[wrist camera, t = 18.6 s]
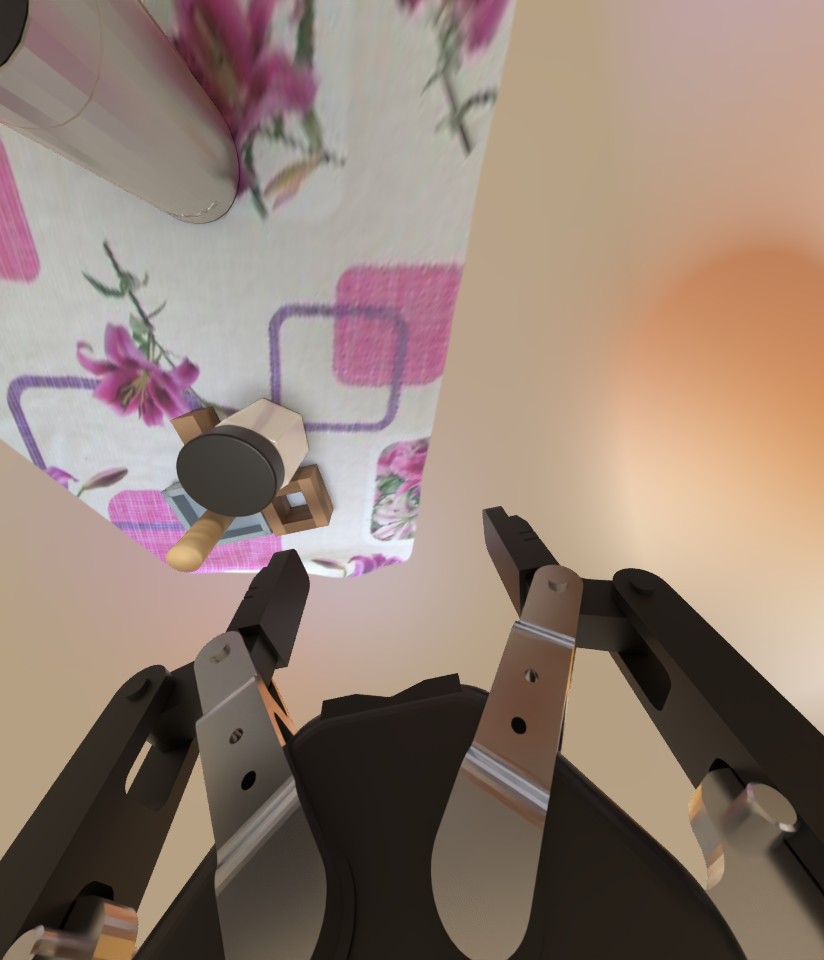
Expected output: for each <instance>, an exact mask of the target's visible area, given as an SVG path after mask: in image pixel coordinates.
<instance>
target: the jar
mask: <svg viewBox="0 0 824 960" xmlns="http://www.w3.org/2000/svg"><path fill="white" fill-rule="evenodd" d="M308 451H309V448H308V444H307V439H306V435H305V430H304V425H303V421H302V416H301V415H300V414H297V413H295V412H293V411H291V410H288V409H286V408H284V407H282V406H279V405H277V404H275V403H273V402H270V401H268V400H266V399H263V398H262V399H260V400H258V401H256V402H255V403H253V404H251V405H249V406H247V407H246V408H244V409H242V410H240V411H239V412H237V413H235V414H233V415H232V416H230V417H228V418H226V419H224V420H223V421H222V422H220V423H219V424H218V425H216V426H215V427H214V428H211V429H209V430H207V431H206V432H204V433H202V434H200V435H199V436H197V437H195V438H193V439H192V440H190V441H189V442H187V443H186V444H185V445H184V447H183V448H182V449H181V451H180V452H179V455H178V458H177V463H176V469H177V475H178V478H179V481H180V483H181V485H182V487H183V489H184V490H185V492H186V493H187V494H188V495H189V496H190V497H191V498H192V499H193V500H194V501H195V502H196V503H198V504H199V505H200V506H202V507H204V508H205V509H207V510H209V511H211V512H214V513H217V514H220V515H224V516H229V517H246V516H250V515H254V514H257V513H259V512H261V511H262V510H264V509H265V508H266V507H268V506H269V505H270V503H271V502H272V501H273V499H274V498H275V496H276V495H277V493H278V492H279V490H280V489H282V488H283V487H285V486H286V485H288V483H289V482H290V480H291V479H292V477H293V475H294V474H295V472H296V470H297V469H298V467H299V466H300V464H301V462H302V461H303V459H304V457H305V456H306V454H307V453H308Z"/></svg>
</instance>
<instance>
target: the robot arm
mask: <svg viewBox="0 0 824 960" xmlns="http://www.w3.org/2000/svg"><path fill="white" fill-rule="evenodd" d="M0 123H2V124H4V125H6V126H8V127H9V128H11V129H13V130H15V131H17V132H19V133H21V134H22V135H24V136H26V137H28V138H30V139H32V140H33V141H35V142H37V143H39V144H41V145H43V146H44V147H46V148H48V149H50V150H52V151H54V152H55V153H57V154H59V155H61V156H63V157H65V158H66V159H68V160H70V161H72V162H74V163H76V164H77V165H79V166H81V167H83V168H85V169H87V170H89V171H90V172H92V173H94V174H96V175H98V176H100V177H101V178H103V179H105V180H107V181H109V182H111V183H112V184H114V185H116V186H118V187H120V188H122V189H123V190H125V191H127V192H129V193H131V194H133V195H134V196H136V197H138V198H140V199H142V200H144V201H145V202H147V203H149V204H151V205H153V206H155V207H156V208H158V209H160V210H162V211H164V212H166V213H168V214H169V215H171V216H173V217H176V218H178V219H180V220H183V221H186V222H192V223H208V222H210V221H213V220H216V219H218V218H219V217H220V216H222V215H223V214H224V213H226V211H227V210H228V209H229V207H230V206H231V205H232V203H233V200H234V198H235V195H236V193H237V188H238V182H239V163H238V157H237V152H236V147H235V144H234V141H233V138H232V135H231V133H230V130H229V128H228V126H227V124H226V122H225V120H224V118H223V116H222V115H221V113H220V112H219V111H218V109H217V108H216V106H215V105H214V103H213V102H212V101H211V99H210V98H209V97H208V95H207V94H206V92H205V91H204V90H203V88H202V87H201V86H200V84H199V83H198V82H197V80H196V79H195V78H194V76H193V75H192V74H191V72H190V70H189V67H188V65H187V63H186V62H185V60H184V59H183V58H182V56H181V55H180V54H179V52H178V51H177V49H176V48H175V47H174V45H173V44H172V43H171V41H170V40H169V39H168V37H167V36H166V35H165V33H164V32H163V30H162V29H161V28H160V26H159V25H158V24H157V22H156V21H155V20H154V18H153V17H152V15H151V14H150V13H149V11H148V10H147V9H146V7H145V6H144V5H143V3H142V2H141V1H140V0H0ZM483 524H484V535H485V542H486V546H487V550H488V552H489V554H490V557H491V559H492V561H493V563H494V565H495V567H496V569H497V571H498V573H499V576H500V578H501V580H502V582H503V584H504V586H505V588H506V590H507V592H508V594H509V596H510V599H511V601H512V603H513V605H514V607H515V609H516V611H517V613H518V616H519V618H520V620H519V622H517V621H516V622H515V623H514V624H513V626H512V629H511V632H510V635H509V638H508V641H507V644H506V646H505V649H504V652H503V656H502V658H501V661H500V664H499V667H498V670H497V673H496V676H495V679H494V682H493V685H492V687H491V690H490V693H489V692H487V691H486V690H483V689H480V688H478V687H474V686H470V685H464V684H460V680H459V676H458V673H456V674H451V675H446V676H441V677H437V678H432V679H427V680H424V681H422V682H420V683H418V684H416V685H414V686H412V687H410V688H408V689H406V690H404V691H402V692H400V693H398V694H396V695H394V696H392V697H382V696H371V695H360V694H354V695H349V696H344V697H340V698H335V699H330V700H324V701H323V704H322V711H321V714H320V715H318V716H317V717H315V718H314V719H312V720H311V721H309V722H308V723H307V724H305V726H303V727H302V728H301V729H300V730H299V731H298V730H297V728H296V727H295V725H294V723H293V721H292V719H291V717H290V715H289V712H288V710H287V708H286V706H285V703H284V701H283V699H282V697H281V695H280V693H279V690H278V688H277V686H276V684H275V682H274V680H273V679H272V676H273V673H274V670H275V669H279V668H284V667H287V666H288V663H289V660H290V656H291V653H292V649H293V646H294V642H295V639H296V635H297V632H298V628H299V625H300V621H301V617H302V614H303V610H304V607H305V603H306V600H307V596H308V593H309V588H310V581H309V577H308V574H307V572H306V570H305V568H304V566H303V564H302V561H301V559H300V557H299V555H298V553H297V551H296V550H295V549H290V550H285V551H281V552H276V553H274V554H273V556H272V558H271V560H270V562H269V564H268V566H267V567H264V568H263V569H262V570H261V571H260V572H259V573H258V574H257V575H256V576H255V577H254V579H253V581H252V582H251V584H250V586H249V590H248V591H247V592H246V594H245V596H244V600H242V602H241V604H240V606H239V607H238V610H237V611H236V613H235V616H234V618H233V619H232V621H231V623H230V625H229V627H228V629H227V631H226V632H225V633H222V634H221V635H219V636H217V637H215V638H214V639H212V640H211V641H210V642H209V643H207V644H206V645H205V646H204V647H203V648H202V650H201V651H200V652H199V654H198V655H197V657H196V659H195V661H193V662H191V663H189V664H187V665H185V666H183V667H181V668H178V669H176V670H174V671H172V672H169V671H168V670H167V669H166V668H165V667H164V666H162V665H153V666H150V667H148V668H145V669H143V670H142V671H140V672H138V673H137V674H135V675H134V676H133V677H132V678H130V679H129V680H128V681H127V682H126V683H125V684H123V686H122V687H121V688H120V689H119V690H118V691H117V692H116V694H115V695H114V696H113V698H112V699H111V701H110V703H109V704H108V705H107V707H106V708H105V710H104V711H103V712H102V714H101V715H100V717H99V718H98V720H97V721H96V723H95V724H94V726H93V727H92V728H91V730H90V731H89V733H88V734H87V736H86V737H85V739H84V740H83V741H82V743H81V744H80V746H79V747H78V749H77V750H76V752H75V753H74V755H73V756H72V758H71V759H70V760H69V762H68V763H67V765H66V766H65V768H64V769H63V771H62V772H61V773H60V775H59V777H58V778H57V779H56V781H55V782H54V784H53V785H52V786H51V788H50V790H49V791H48V792H47V794H46V795H45V797H44V798H43V800H42V801H41V802H40V804H39V806H38V807H37V808H36V810H35V811H34V813H33V814H32V816H31V817H30V818H29V820H28V821H27V823H26V824H25V826H24V827H23V829H22V830H21V832H20V833H19V834H18V836H17V837H16V839H15V840H14V842H13V843H12V845H11V846H10V848H9V849H8V850H7V852H6V853H5V855H4V856H3V858H2V859H1V861H0V960H824V736H823V735H822V734H821V733H820V732H819V731H818V730H817V729H816V728H815V727H814V726H813V725H812V724H811V723H810V722H809V721H808V720H807V719H806V718H805V717H804V716H803V715H802V714H801V713H800V712H799V711H798V710H797V709H796V708H795V707H794V706H793V705H792V704H791V703H790V702H788V700H786V699H785V698H784V697H783V696H782V695H781V694H780V693H779V692H778V691H777V690H776V689H775V688H774V687H773V686H772V685H771V684H770V683H769V682H768V681H767V680H766V679H765V678H764V677H763V676H762V675H761V674H760V673H759V672H758V671H757V670H755V669H754V667H752V665H751V664H750V663H748V662H747V661H746V660H745V659H744V658H743V657H742V656H741V655H740V654H739V653H738V652H737V651H736V650H735V649H734V648H733V647H732V646H731V645H730V644H729V643H728V642H727V641H726V640H725V639H724V638H723V637H722V636H721V635H720V634H718V632H717V631H716V630H715V629H714V628H713V627H711V626H710V625H709V624H708V623H707V622H706V621H705V620H704V619H703V618H702V617H701V616H700V615H699V614H698V613H697V612H696V611H695V610H694V609H693V608H692V607H691V606H690V605H689V604H688V603H687V602H686V601H685V600H684V599H683V598H682V597H681V596H680V595H678V593H677V592H676V591H675V590H674V589H673V588H671V587H670V586H669V585H668V584H667V583H666V582H665V581H664V580H663V579H661V578H660V577H658V576H657V575H655V574H653V573H650V572H648V571H645V570H641V569H635V568H634V569H633V568H628V569H622V570H620V571H618V572H616V573H615V574H614V576H613V580H612V581H610V580H593V579H585V578H581V577H579V575H577V573H575V572H574V571H573V570H571V569H569V568H567V567H564V566H560V565H559V563H558V562H557V561H556V559H555V558H554V557H553V555H552V554H551V553H550V551H549V550H548V549H547V547H546V546H545V545H544V543H543V542H542V541H541V539H539V537H538V535H537V534H536V533H535V532H534V531H533V529H532V527H531V526H530V525H529V523H528V522H527V521H525V520H523V519H522V518H520V517H518V516H517V515H515V516H510V517H508V515H507V514H506V513H505V511H504V509H503V508H502V507H501V506H498V507H493V508H488V509H484V510H483ZM576 647H579V648H586V649H595V650H603V651H609V653H610V654H611V656H612V658H613V659H614V661H615V663H616V664H617V665H618V667H619V669H620V670H621V672H622V674H623V675H624V677H625V678H626V680H627V682H628V683H629V685H630V686H631V688H632V689H633V691H634V693H635V694H636V696H637V697H638V699H639V700H640V702H641V704H642V705H643V707H644V708H645V710H646V711H647V713H648V715H649V716H650V718H651V719H652V721H653V723H654V724H655V726H656V727H657V729H658V730H659V732H660V734H661V735H662V737H663V738H664V740H665V741H666V743H667V745H668V746H669V748H670V749H671V751H672V753H673V754H674V756H675V757H676V759H677V761H678V762H679V764H680V765H681V767H682V769H683V770H684V772H685V773H686V775H687V776H688V778H689V779H690V781H691V783H692V784H693V786H694V787H695V789H696V791H695V792H694V794H693V795H692V797H691V799H690V801H689V806H688V814H689V820H690V824H691V827H692V830H693V832H694V834H695V836H696V839H697V841H698V843H699V845H700V847H701V849H702V852H703V855H704V858H705V862H706V867H707V874H708V875H707V876H708V880H707V887H706V890H704V889H703V888H702V887H701V885H700V884H699V883H698V882H697V880H696V879H695V878H694V877H693V876H692V875H691V874H690V872H688V870H687V869H686V868H685V867H684V866H683V865H682V864H681V863H680V862H679V861H678V860H677V859H676V858H675V857H674V856H673V855H672V854H671V853H670V852H669V851H668V850H667V849H666V848H664V847H663V846H662V845H661V844H660V843H659V842H658V841H657V840H656V839H654V838H653V837H652V836H651V835H650V834H649V833H648V832H647V831H646V830H645V829H643V828H642V827H641V826H640V825H639V824H638V823H637V822H636V821H635V820H634V819H632V818H631V817H630V816H629V815H628V814H627V813H626V812H625V811H624V810H622V809H621V808H620V807H619V806H618V805H617V804H616V803H615V802H614V801H612V800H611V799H610V798H609V797H608V796H607V795H606V794H605V793H604V792H603V791H601V790H600V789H599V788H598V787H597V786H596V785H595V784H594V783H593V782H591V781H590V780H589V779H588V778H587V777H586V776H585V775H584V774H583V773H582V772H580V771H579V770H578V769H577V768H576V767H575V766H574V765H573V764H572V763H571V762H569V761H568V760H567V759H566V758H565V757H564V756H563V755H562V754H561V750H562V743H563V736H564V729H565V722H566V715H567V707H568V700H569V693H570V686H571V680H572V673H573V666H574V660H575V653H576ZM145 741H148V742H149V743H150V744H152V746H151V748H150V750H149V752H148V754H147V756H146V758H145V760H144V762H143V763H142V765H141V767H140V769H139V771H138V773H137V775H136V777H135V779H134V781H133V783H132V785H131V787H130V789H129V791H128V793H127V794H126V792H125V783H126V779H127V776H128V774H129V771H130V769H131V768H132V766H133V764H134V762H135V760H136V758H137V756H138V754H139V753H140V751H141V749H142V747H143V745H144V743H145ZM199 752H200V756H201V762H202V768H203V774H204V780H205V785H206V791H207V797H208V803H209V810H210V815H211V821H212V827H213V833H214V839H215V844H214V845H213V847H212V848H211V849H210V851H209V852H208V854H207V855H206V856H205V858H204V859H203V860H202V862H201V863H200V865H199V866H198V868H197V869H196V870H195V872H194V873H193V874H192V876H191V878H190V879H189V880H188V882H187V883H186V884H185V886H184V887H183V888H182V890H181V891H180V893H179V894H178V895H177V897H176V898H175V899H174V901H173V902H172V904H171V905H170V906H169V908H168V909H167V911H166V912H165V913H164V915H163V916H162V918H161V919H160V920H159V922H158V923H157V925H156V926H155V927H154V929H153V930H152V932H151V933H150V935H149V936H148V937H147V939H146V940H145V941H144V943H143V944H142V946H141V947H140V948H139V950H138V949H137V948H136V947H135V943H136V938H137V932H138V917H137V911H138V908H139V905H140V903H141V900H142V898H143V895H144V893H145V890H146V887H147V885H148V882H149V880H150V877H151V875H152V872H153V870H154V867H155V865H156V862H157V859H158V857H159V854H160V852H161V849H162V846H163V844H164V841H165V839H166V836H167V834H168V831H169V829H170V826H171V823H172V821H173V819H174V816H175V813H176V811H177V808H178V806H179V803H180V801H181V798H182V795H183V793H184V790H185V788H186V785H187V783H188V780H189V778H190V775H191V773H192V770H193V767H194V765H195V762H196V760H197V757H198V755H199Z"/></svg>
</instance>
